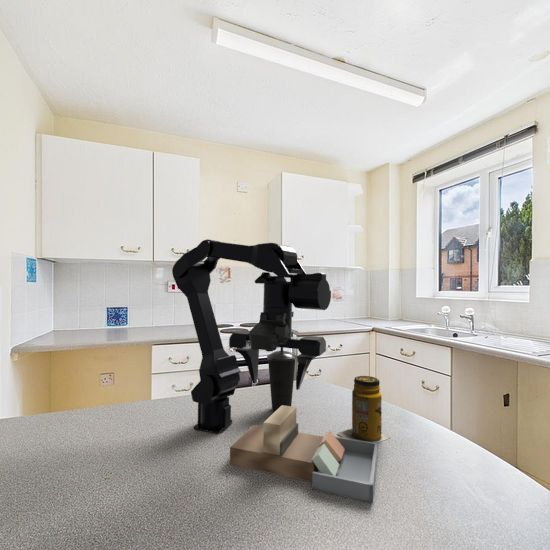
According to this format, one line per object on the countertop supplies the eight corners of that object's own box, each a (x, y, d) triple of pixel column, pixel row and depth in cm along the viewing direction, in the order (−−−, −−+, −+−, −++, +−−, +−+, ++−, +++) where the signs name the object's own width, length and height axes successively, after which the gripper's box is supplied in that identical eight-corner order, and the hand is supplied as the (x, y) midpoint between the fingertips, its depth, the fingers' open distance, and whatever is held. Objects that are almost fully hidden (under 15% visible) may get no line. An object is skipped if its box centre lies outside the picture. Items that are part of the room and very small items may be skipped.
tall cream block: (263, 451, 57) (263, 422, 57) (281, 430, 65) (281, 405, 65) (281, 455, 56) (282, 425, 56) (298, 433, 64) (298, 407, 64)
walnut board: (229, 464, 58) (230, 447, 59) (252, 439, 68) (253, 425, 68) (313, 482, 53) (313, 463, 53) (325, 453, 63) (325, 436, 63)
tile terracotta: (319, 444, 59) (325, 439, 59) (324, 435, 63) (329, 430, 62) (335, 464, 58) (341, 459, 58) (338, 453, 62) (344, 448, 61)
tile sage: (311, 459, 54) (318, 454, 53) (317, 448, 57) (324, 443, 57) (327, 482, 53) (334, 477, 52) (332, 469, 56) (339, 464, 56)
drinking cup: (268, 403, 89) (269, 328, 90) (297, 405, 88) (297, 329, 89) (264, 414, 81) (264, 332, 82) (295, 416, 80) (295, 333, 81)
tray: (312, 489, 51) (312, 473, 51) (329, 448, 64) (329, 435, 65) (372, 503, 48) (372, 485, 48) (377, 456, 61) (377, 443, 61)
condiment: (390, 438, 69) (390, 380, 70) (362, 448, 65) (362, 386, 65) (363, 425, 75) (363, 372, 76) (336, 434, 71) (336, 377, 71)
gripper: (215, 307, 62) (213, 391, 62) (312, 312, 55) (310, 407, 55) (242, 304, 72) (240, 376, 72) (327, 308, 66) (325, 388, 65)
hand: (275, 386), depth 66 cm, fingers open, 9 cm apart
